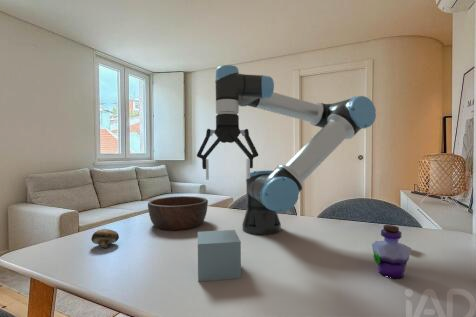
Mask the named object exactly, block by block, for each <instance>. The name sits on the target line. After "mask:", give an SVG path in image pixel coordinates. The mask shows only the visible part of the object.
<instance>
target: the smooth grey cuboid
mask: <svg viewBox="0 0 476 317" xmlns="http://www.w3.org/2000/svg"><path fill="white" fill-rule="evenodd" d="M241 243H242V242H241V239H240V238H239V235H238V234H237V232H236V230H235V229H228V230H227V229H226V230H223V229H222V230H206V231H205V230H204V231H197V281H198V282H209V281H218V280H219V281H220V280H221V281H222V280H234V279H242V257H241V256H242V251H241V250H242V249H241V248H242V247H241V246H242V244H241Z"/></svg>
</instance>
